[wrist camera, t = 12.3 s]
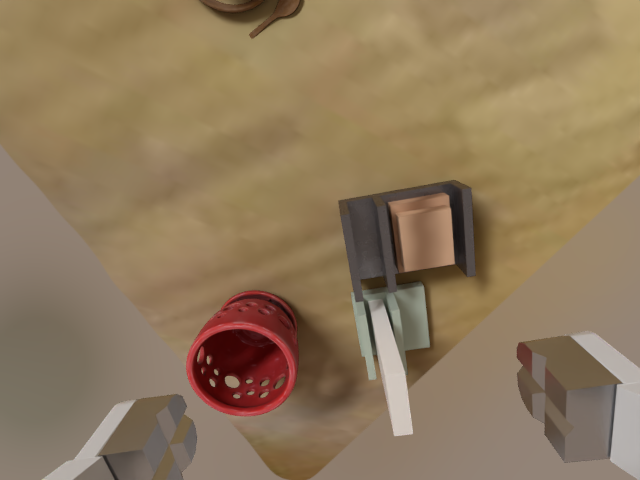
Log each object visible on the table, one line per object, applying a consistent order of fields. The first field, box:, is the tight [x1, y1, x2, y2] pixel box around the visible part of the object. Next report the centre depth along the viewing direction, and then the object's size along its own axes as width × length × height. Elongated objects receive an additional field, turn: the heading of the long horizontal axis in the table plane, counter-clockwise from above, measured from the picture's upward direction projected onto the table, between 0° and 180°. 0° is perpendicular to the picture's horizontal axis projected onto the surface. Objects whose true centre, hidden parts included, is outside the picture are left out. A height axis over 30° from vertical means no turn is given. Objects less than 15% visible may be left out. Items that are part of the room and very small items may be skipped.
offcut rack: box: [339, 180, 476, 302], centre depth 44 cm, size 15×11×8 cm
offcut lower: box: [388, 193, 453, 273], centre depth 45 cm, size 7×9×2 cm
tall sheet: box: [368, 299, 413, 436], centre depth 43 cm, size 2×8×15 cm, turn 11°
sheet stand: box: [351, 281, 430, 380], centre depth 48 cm, size 10×10×6 cm
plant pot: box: [186, 291, 299, 416], centre depth 46 cm, size 13×13×12 cm
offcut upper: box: [396, 205, 455, 272], centre depth 43 cm, size 6×7×2 cm
